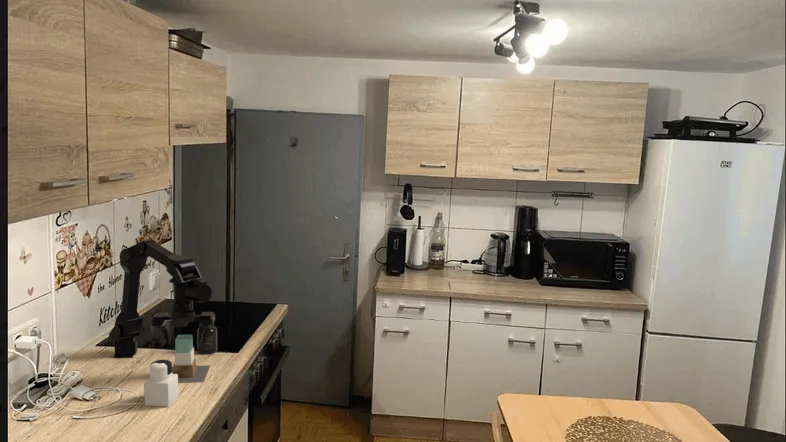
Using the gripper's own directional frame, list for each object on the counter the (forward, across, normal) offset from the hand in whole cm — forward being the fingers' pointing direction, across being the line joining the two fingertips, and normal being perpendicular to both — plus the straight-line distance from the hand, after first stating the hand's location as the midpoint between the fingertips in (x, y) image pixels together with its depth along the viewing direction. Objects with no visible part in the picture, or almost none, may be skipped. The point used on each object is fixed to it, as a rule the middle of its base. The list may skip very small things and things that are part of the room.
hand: (184, 344), depth 187 cm
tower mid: (+6, 0, 0) cm, 6 cm away
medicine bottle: (+11, -3, -19) cm, 22 cm away
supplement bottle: (+11, +4, +21) cm, 24 cm away
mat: (+10, 0, 0) cm, 10 cm away
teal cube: (+2, 0, 0) cm, 2 cm away
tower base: (+10, 0, 0) cm, 10 cm away
